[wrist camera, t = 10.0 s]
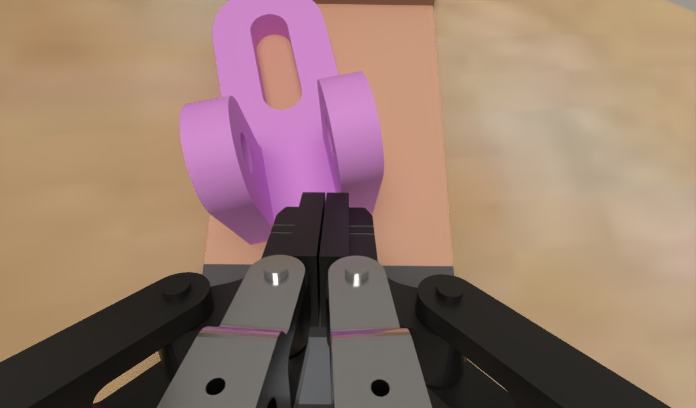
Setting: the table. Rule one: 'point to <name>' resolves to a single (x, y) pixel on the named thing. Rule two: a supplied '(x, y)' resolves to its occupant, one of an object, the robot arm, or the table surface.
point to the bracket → (279, 123)
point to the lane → (398, 146)
